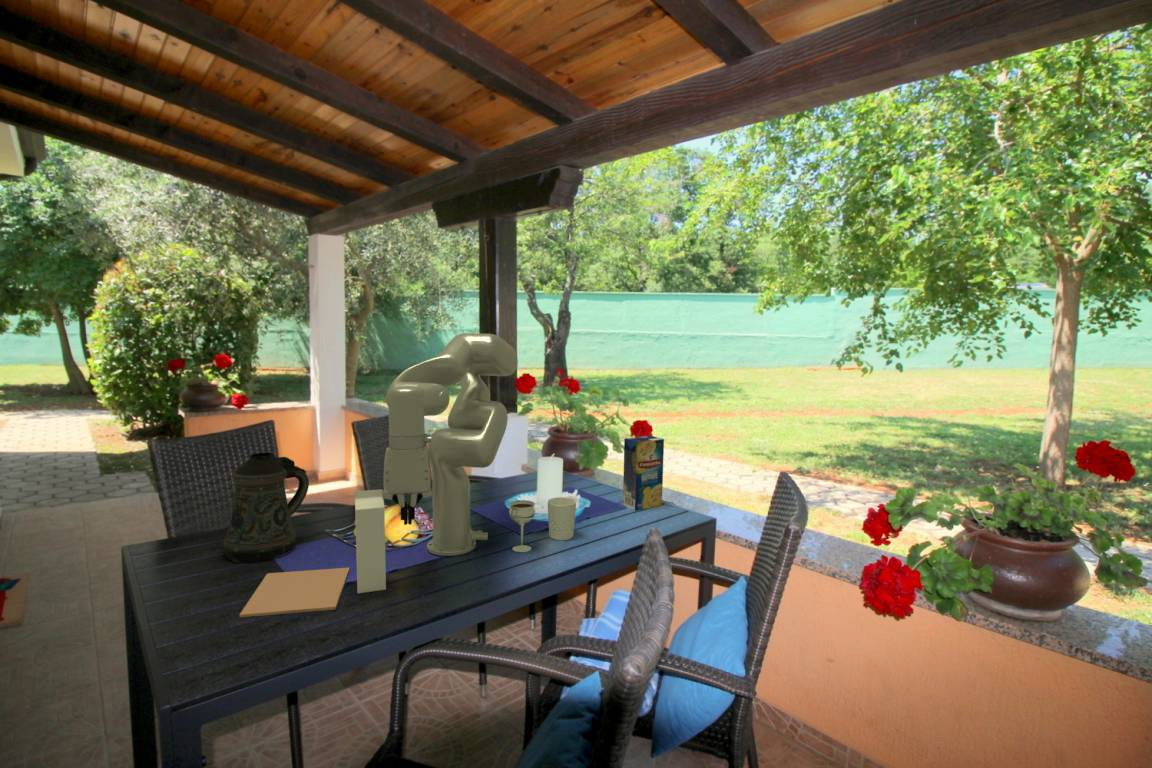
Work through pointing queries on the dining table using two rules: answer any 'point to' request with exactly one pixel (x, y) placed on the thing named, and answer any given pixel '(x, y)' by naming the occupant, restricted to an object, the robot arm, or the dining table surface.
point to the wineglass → (522, 518)
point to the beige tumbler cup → (561, 518)
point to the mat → (297, 592)
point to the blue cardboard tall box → (643, 472)
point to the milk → (370, 541)
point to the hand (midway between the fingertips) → (407, 522)
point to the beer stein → (263, 509)
